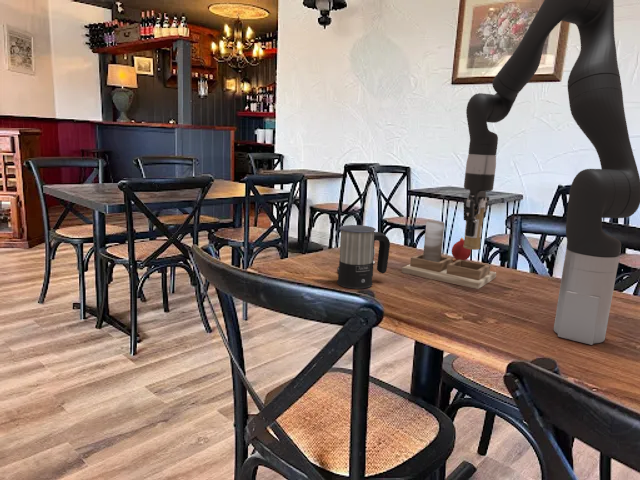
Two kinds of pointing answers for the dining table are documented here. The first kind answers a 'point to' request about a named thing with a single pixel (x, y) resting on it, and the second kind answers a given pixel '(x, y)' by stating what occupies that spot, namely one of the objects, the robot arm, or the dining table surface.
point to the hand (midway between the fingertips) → (472, 234)
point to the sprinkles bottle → (474, 241)
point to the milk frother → (360, 255)
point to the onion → (460, 251)
